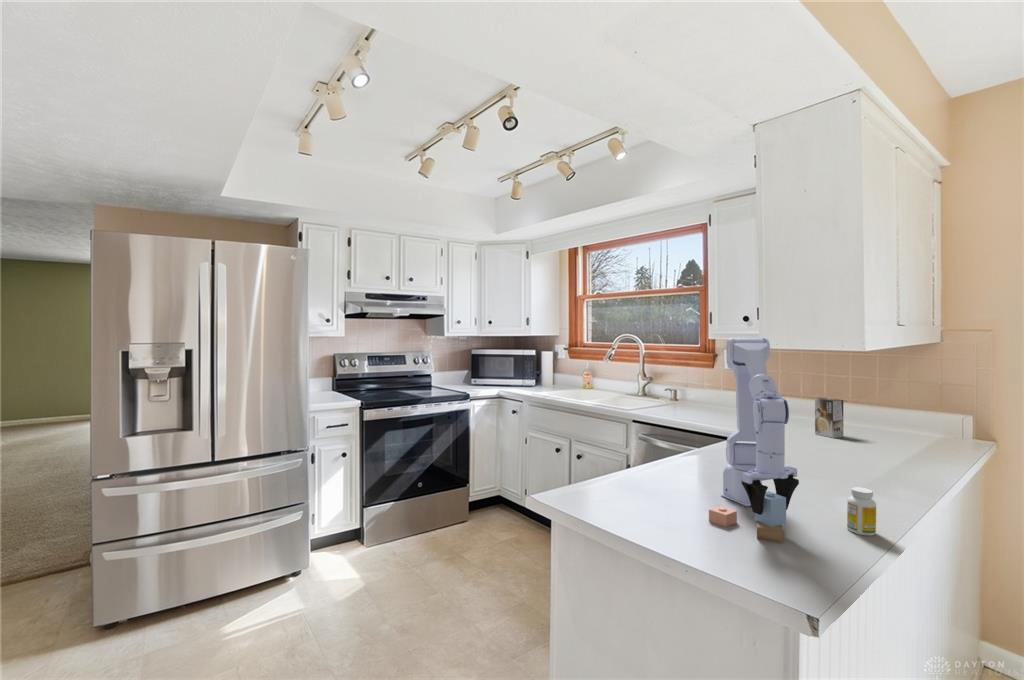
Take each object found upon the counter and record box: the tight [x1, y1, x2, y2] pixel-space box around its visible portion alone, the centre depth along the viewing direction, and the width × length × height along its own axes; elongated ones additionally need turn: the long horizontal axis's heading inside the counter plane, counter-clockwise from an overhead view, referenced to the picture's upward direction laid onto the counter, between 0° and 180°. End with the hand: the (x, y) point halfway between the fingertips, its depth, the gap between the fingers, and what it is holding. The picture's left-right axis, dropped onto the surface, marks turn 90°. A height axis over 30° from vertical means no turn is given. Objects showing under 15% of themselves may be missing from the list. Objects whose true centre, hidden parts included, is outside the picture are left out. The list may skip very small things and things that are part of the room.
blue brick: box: [753, 490, 787, 527], centre depth 111 cm, size 4×4×6 cm
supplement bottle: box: [846, 486, 877, 536], centre depth 111 cm, size 5×5×10 cm
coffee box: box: [814, 397, 844, 439], centre depth 212 cm, size 9×6×16 cm
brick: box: [708, 505, 738, 528], centre depth 118 cm, size 4×4×3 cm
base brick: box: [756, 521, 784, 545], centre depth 111 cm, size 10×5×3 cm, turn 153°
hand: (769, 510), depth 111 cm, fingers open, 7 cm apart
